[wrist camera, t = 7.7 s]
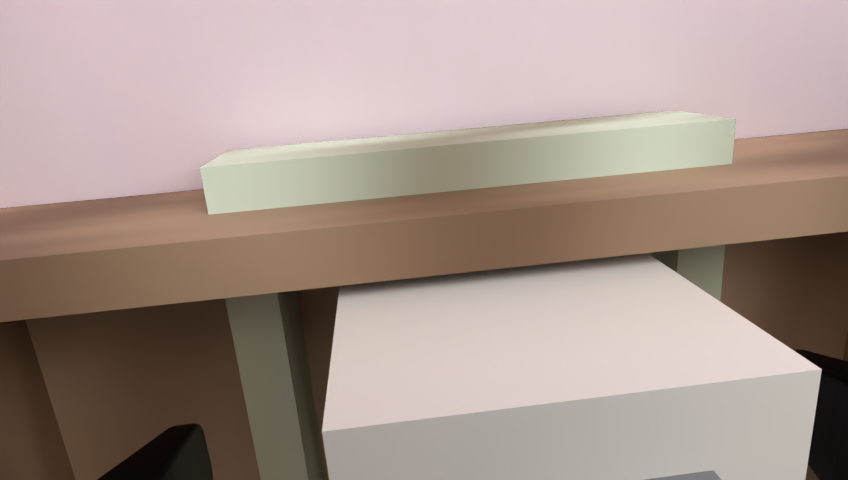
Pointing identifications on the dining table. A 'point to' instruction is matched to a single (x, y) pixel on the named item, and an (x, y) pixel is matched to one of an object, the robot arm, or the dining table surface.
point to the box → (377, 269)
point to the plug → (561, 380)
